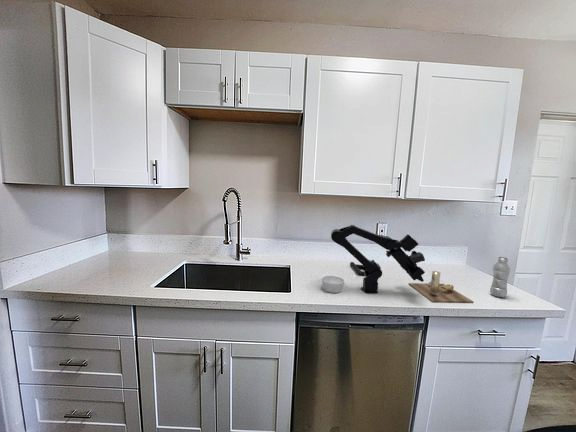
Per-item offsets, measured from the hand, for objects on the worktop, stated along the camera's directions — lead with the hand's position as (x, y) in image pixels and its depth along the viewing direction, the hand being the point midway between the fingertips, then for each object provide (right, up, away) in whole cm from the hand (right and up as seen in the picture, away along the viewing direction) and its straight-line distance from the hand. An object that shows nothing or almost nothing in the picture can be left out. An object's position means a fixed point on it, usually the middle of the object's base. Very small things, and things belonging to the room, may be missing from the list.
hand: (422, 280), depth 121 cm
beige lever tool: (+8, -6, +5) cm, 12 cm away
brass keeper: (+15, -7, +4) cm, 17 cm away
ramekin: (-44, -6, +5) cm, 45 cm away
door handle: (-18, -4, +35) cm, 39 cm away
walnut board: (+11, -8, +5) cm, 14 cm away
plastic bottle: (+40, -9, +4) cm, 41 cm away
